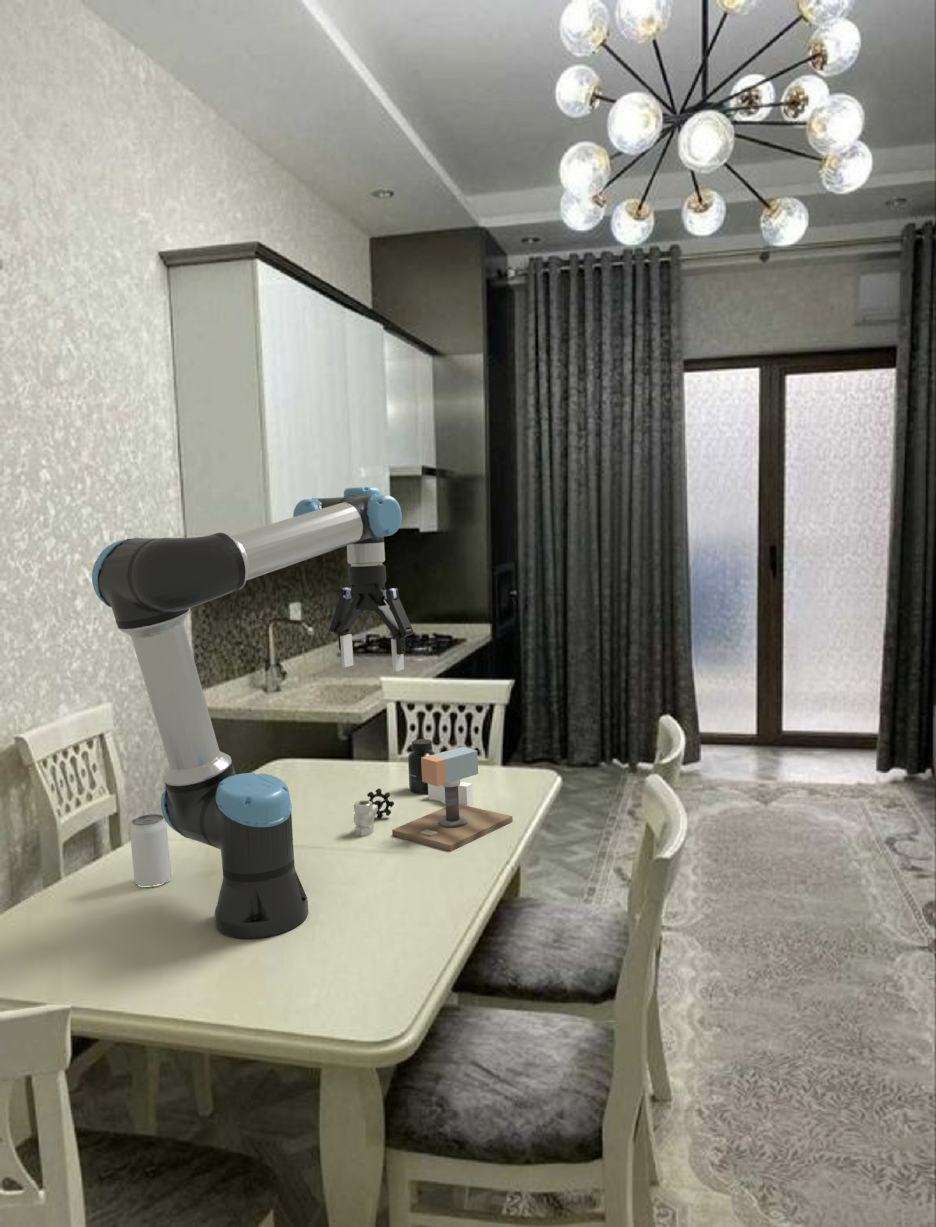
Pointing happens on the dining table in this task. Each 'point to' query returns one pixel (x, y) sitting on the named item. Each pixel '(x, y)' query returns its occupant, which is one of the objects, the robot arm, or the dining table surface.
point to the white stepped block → (463, 793)
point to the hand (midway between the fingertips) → (372, 668)
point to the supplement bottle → (418, 765)
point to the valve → (370, 812)
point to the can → (150, 850)
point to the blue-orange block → (449, 767)
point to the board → (452, 824)
